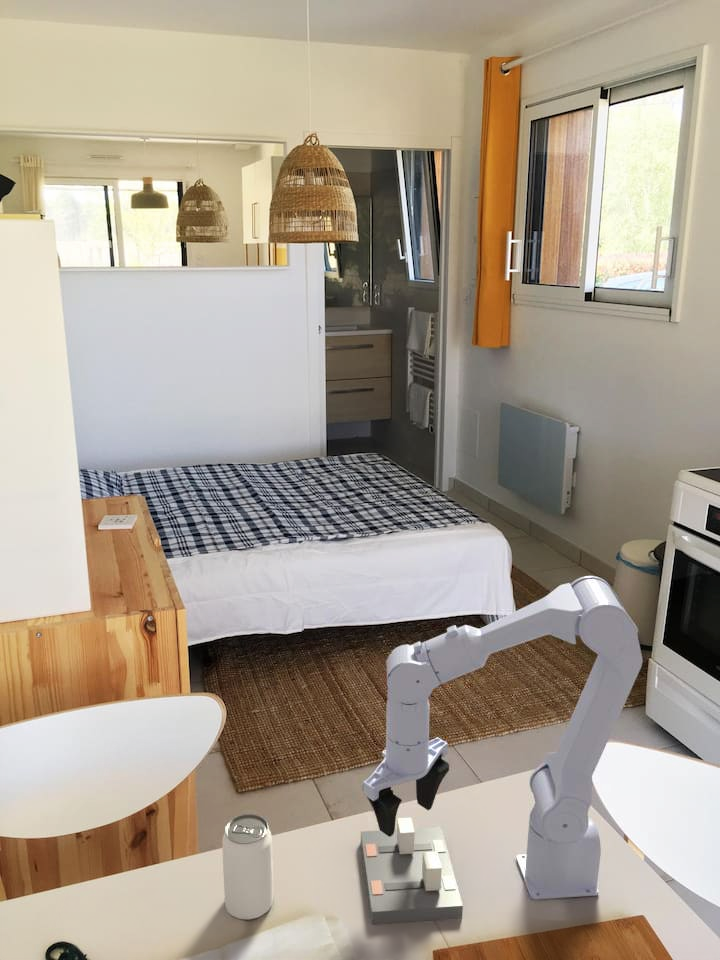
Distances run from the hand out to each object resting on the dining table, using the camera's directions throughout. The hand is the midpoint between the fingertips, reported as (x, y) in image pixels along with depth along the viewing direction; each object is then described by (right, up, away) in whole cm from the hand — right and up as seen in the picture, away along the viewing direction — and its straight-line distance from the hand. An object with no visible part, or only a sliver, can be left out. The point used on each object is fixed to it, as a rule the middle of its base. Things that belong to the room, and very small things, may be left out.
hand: (405, 818), depth 113 cm
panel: (+1, -9, +1) cm, 9 cm away
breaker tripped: (0, -6, +4) cm, 7 cm away
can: (-21, -10, -3) cm, 24 cm away
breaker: (+3, -8, -2) cm, 9 cm away
